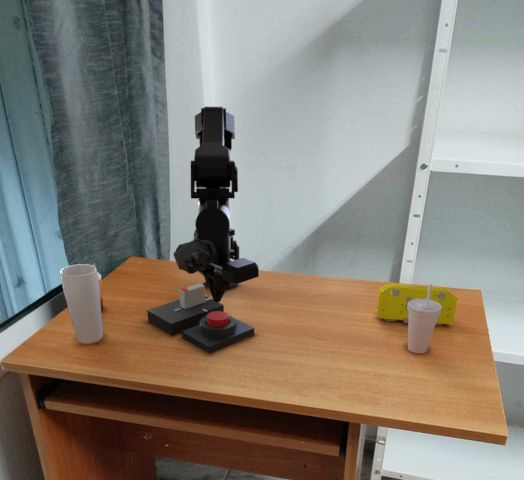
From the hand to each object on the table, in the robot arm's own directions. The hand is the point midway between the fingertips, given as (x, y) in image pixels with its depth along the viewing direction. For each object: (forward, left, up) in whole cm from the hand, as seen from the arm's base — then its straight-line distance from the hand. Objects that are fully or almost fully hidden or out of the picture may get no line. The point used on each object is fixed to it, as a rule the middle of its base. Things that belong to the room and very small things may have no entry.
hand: (217, 301), depth 107 cm
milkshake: (+12, -29, -8) cm, 32 cm away
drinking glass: (+20, -17, -8) cm, 27 cm away
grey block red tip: (-2, -11, -5) cm, 12 cm away
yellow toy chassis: (-37, +23, -8) cm, 44 cm away
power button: (0, 0, -5) cm, 5 cm away
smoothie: (-26, +31, -8) cm, 41 cm away
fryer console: (0, -11, -8) cm, 14 cm away
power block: (0, 0, -8) cm, 8 cm away
